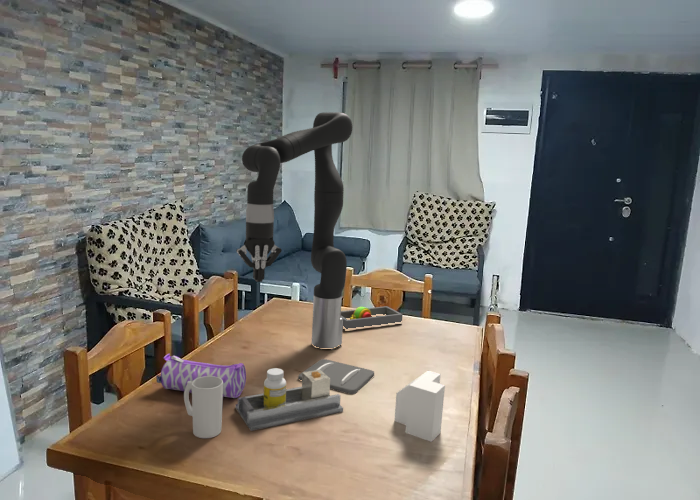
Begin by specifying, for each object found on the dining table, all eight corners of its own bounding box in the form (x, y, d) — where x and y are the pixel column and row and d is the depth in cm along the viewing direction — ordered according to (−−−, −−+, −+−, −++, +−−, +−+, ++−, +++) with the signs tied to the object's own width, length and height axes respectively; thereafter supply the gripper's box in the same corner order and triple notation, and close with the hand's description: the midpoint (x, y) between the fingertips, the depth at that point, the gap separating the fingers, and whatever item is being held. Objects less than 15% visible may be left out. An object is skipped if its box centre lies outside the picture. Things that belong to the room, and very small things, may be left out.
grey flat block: (296, 371, 153) (322, 353, 167) (296, 381, 154) (322, 363, 167) (354, 385, 145) (376, 366, 159) (353, 396, 146) (375, 376, 160)
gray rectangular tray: (386, 315, 216) (387, 306, 216) (401, 324, 207) (402, 314, 206) (332, 322, 205) (333, 312, 204) (346, 331, 195) (346, 320, 195)
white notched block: (431, 441, 125) (435, 393, 122) (387, 426, 130) (391, 379, 128) (449, 423, 134) (453, 377, 131) (407, 409, 139) (411, 365, 137)
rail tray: (322, 391, 147) (323, 361, 145) (343, 411, 136) (344, 379, 135) (235, 408, 135) (235, 375, 134) (250, 430, 125) (251, 396, 123)
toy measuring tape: (344, 324, 203) (345, 307, 202) (381, 315, 216) (382, 300, 215) (355, 329, 199) (356, 312, 198) (392, 320, 212) (393, 303, 210)
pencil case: (155, 393, 141) (155, 359, 139) (173, 379, 150) (173, 346, 148) (236, 405, 137) (236, 370, 135) (249, 389, 146) (250, 356, 144)
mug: (228, 429, 125) (229, 380, 123) (209, 442, 119) (209, 391, 117) (194, 417, 130) (194, 370, 127) (174, 430, 124) (173, 380, 121)
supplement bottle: (263, 403, 136) (264, 366, 134) (285, 403, 137) (286, 366, 135) (262, 414, 131) (263, 375, 129) (285, 413, 132) (286, 375, 130)
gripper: (277, 217, 155) (276, 276, 159) (232, 218, 149) (231, 279, 152) (287, 221, 149) (285, 282, 152) (240, 222, 143) (239, 286, 146)
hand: (258, 281), depth 152 cm, fingers closed
